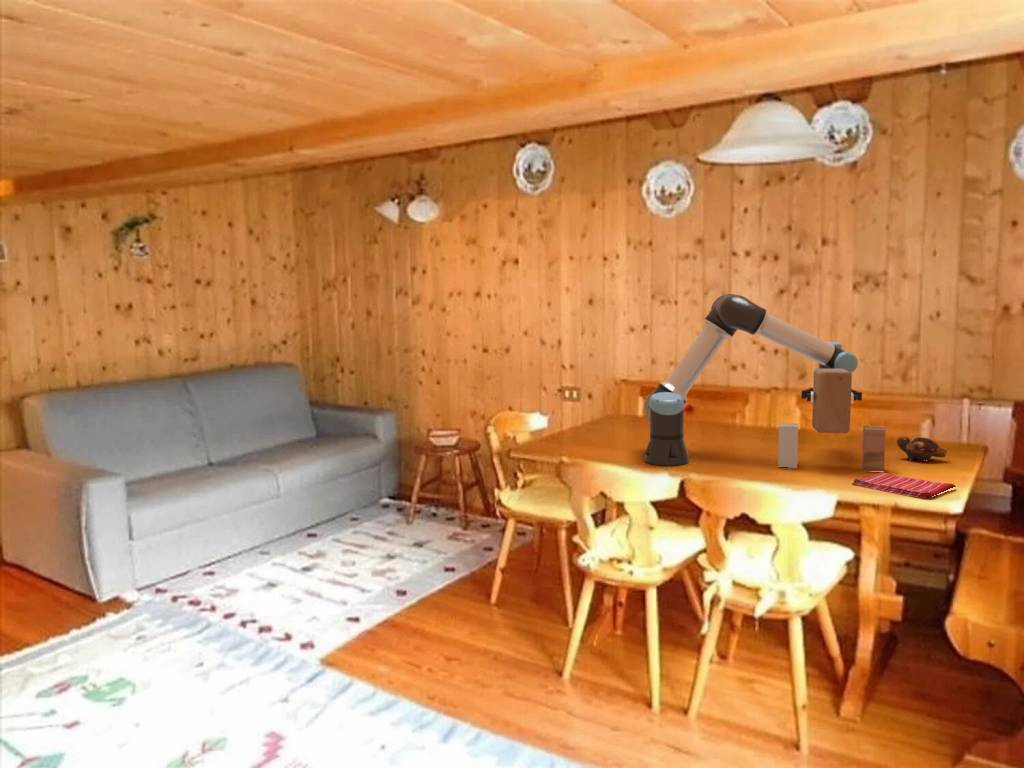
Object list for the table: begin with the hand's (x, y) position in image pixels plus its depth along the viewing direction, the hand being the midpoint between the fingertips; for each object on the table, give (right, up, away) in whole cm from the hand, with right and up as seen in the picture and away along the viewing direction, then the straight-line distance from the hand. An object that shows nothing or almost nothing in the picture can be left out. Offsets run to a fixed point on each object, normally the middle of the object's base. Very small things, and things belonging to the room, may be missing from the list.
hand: (832, 398), depth 260 cm
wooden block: (+2, -11, +5) cm, 12 cm away
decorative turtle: (+36, -21, +14) cm, 44 cm away
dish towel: (+14, -27, -19) cm, 35 cm away
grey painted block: (-10, -23, +11) cm, 27 cm away
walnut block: (+14, -23, +2) cm, 27 cm away
